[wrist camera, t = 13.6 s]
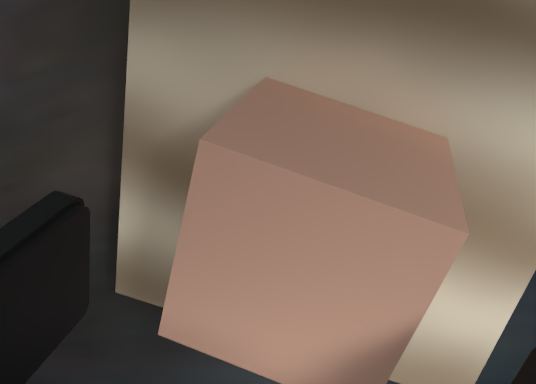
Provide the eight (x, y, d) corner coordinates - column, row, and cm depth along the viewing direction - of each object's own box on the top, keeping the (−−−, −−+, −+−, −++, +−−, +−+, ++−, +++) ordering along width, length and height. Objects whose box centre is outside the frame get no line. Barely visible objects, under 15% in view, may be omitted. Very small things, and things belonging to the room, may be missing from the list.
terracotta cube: (266, 76, 16) (199, 138, 11) (447, 137, 16) (469, 234, 10) (225, 228, 19) (157, 334, 14) (378, 283, 18) (367, 417, 13)
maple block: (186, -93, 18) (135, -103, 15) (617, -3, 16) (674, 9, 13) (155, 244, 25) (115, 292, 22) (454, 335, 23) (463, 403, 20)
